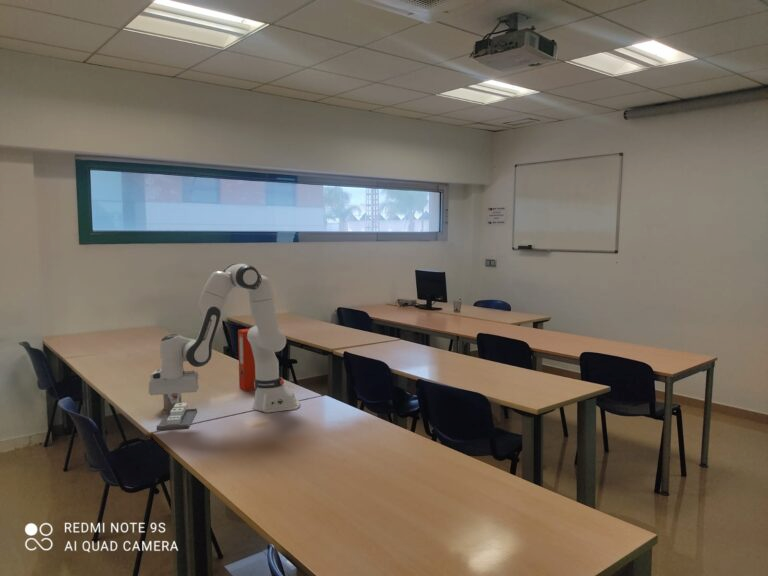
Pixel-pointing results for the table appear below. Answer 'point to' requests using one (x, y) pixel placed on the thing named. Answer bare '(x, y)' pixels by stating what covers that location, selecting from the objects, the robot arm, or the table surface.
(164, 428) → the keypad board
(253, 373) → the file binder
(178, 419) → the key three
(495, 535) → the table surface
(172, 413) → the key two
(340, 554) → the table surface
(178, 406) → the key one
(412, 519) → the table surface
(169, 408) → the thermos bottle
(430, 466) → the table surface
